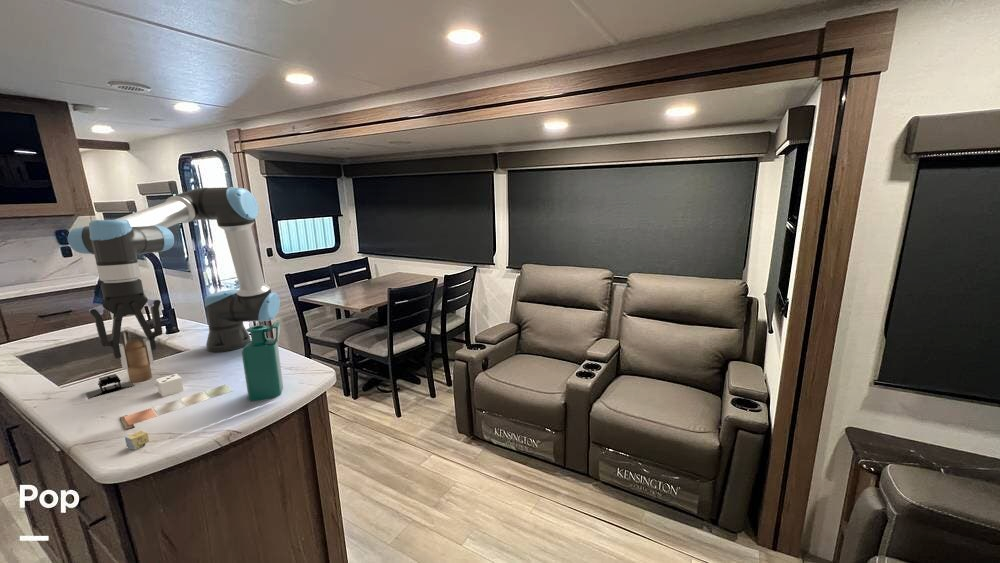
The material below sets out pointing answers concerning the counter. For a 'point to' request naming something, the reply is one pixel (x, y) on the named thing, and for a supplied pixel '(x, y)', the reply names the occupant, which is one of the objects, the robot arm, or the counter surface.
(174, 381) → the die
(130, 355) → the wooden domed cylinder
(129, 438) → the alphabet block
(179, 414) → the counter surface
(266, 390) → the green plastic tall bottle
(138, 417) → the game board
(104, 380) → the black piece
